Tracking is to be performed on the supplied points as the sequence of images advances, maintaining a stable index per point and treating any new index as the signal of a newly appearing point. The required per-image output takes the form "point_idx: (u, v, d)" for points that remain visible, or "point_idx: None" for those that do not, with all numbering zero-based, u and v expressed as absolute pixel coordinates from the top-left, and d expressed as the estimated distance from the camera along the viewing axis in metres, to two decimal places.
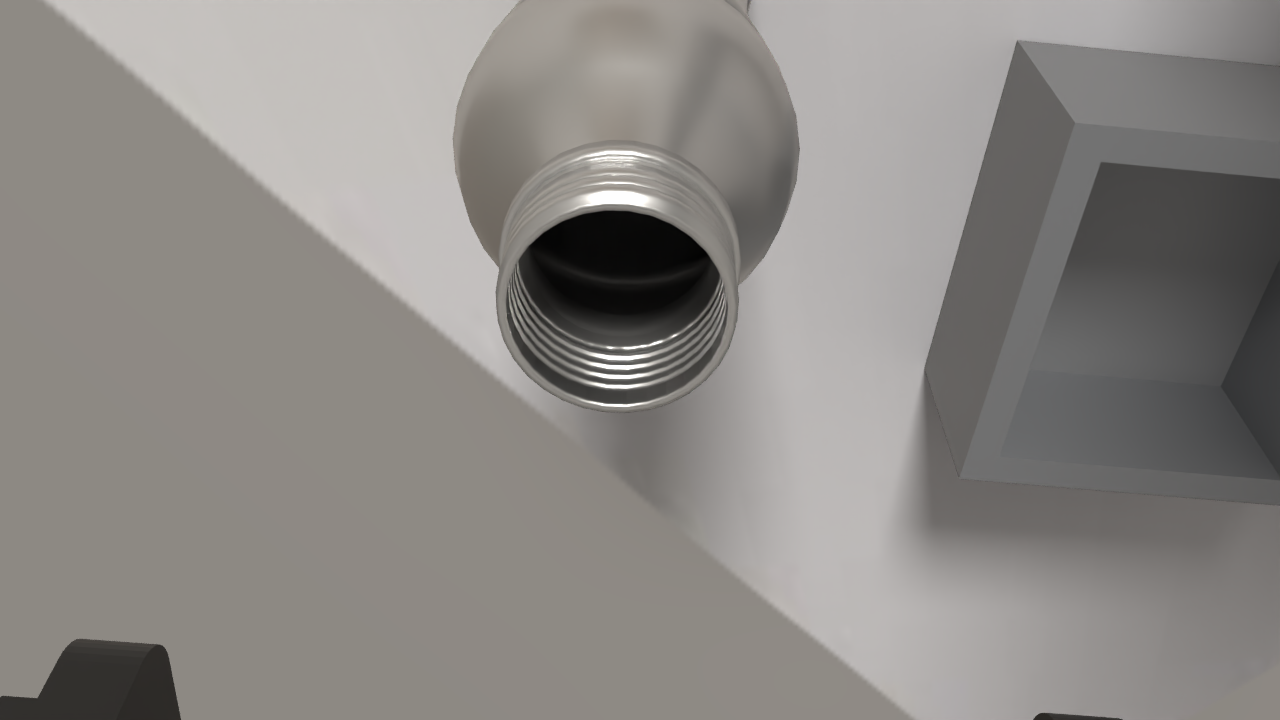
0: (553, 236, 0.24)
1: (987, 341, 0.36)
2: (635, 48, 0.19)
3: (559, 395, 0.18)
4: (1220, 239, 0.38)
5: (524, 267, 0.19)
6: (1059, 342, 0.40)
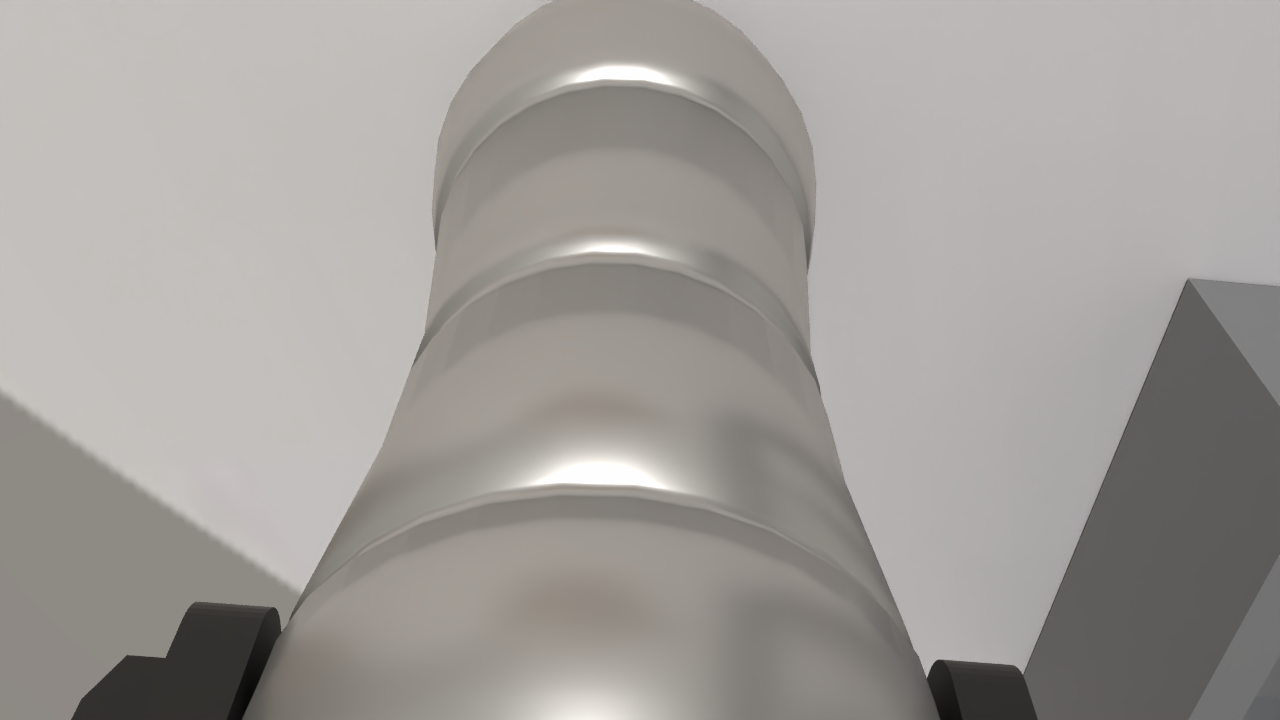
0: None
1: (1142, 717, 0.24)
2: None
3: None
4: None
5: None
6: None
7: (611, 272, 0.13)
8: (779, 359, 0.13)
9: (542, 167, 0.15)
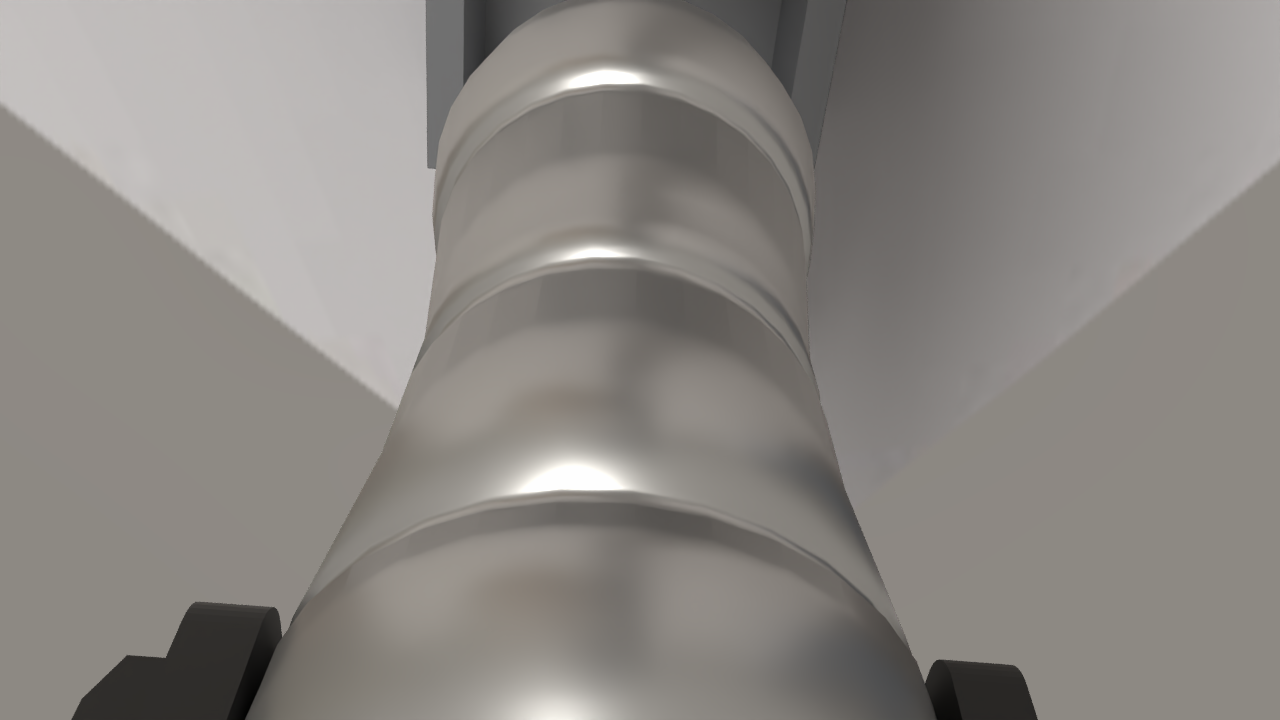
0: None
1: None
2: None
3: None
4: None
5: None
6: None
7: (611, 277, 0.13)
8: (778, 364, 0.13)
9: (542, 173, 0.15)
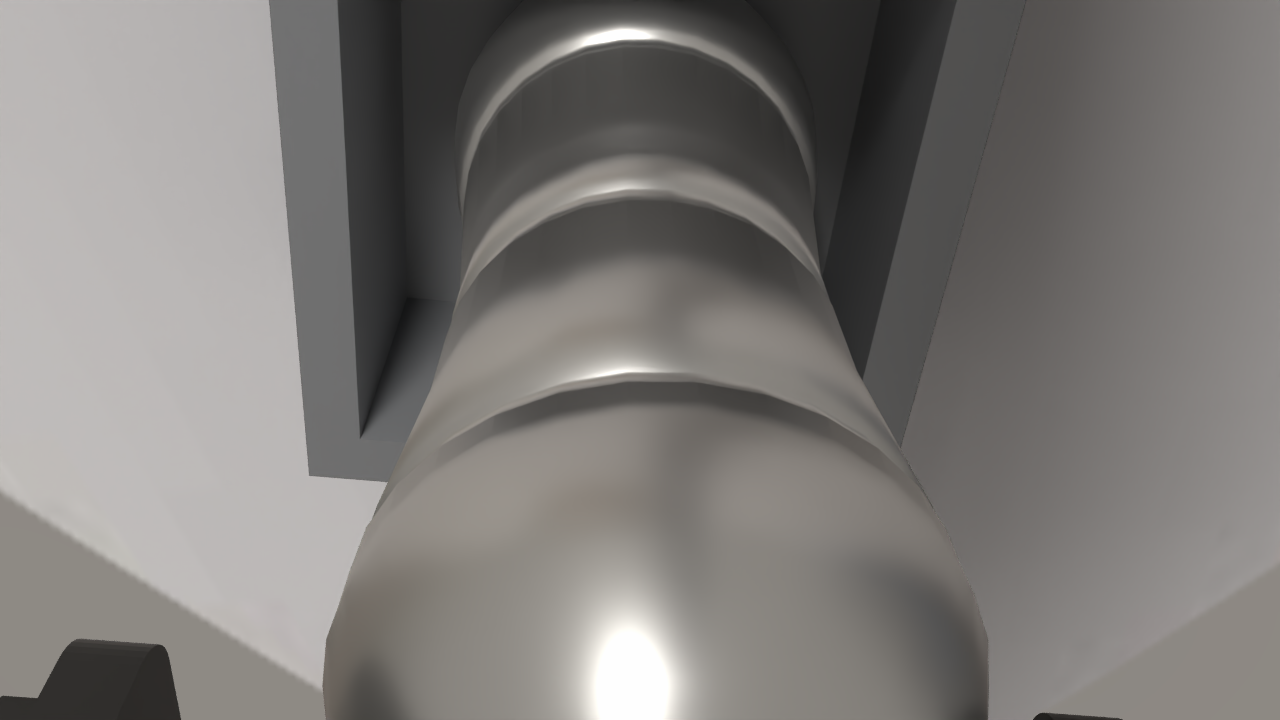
0: None
1: None
2: (692, 624, 0.09)
3: None
4: None
5: None
6: None
7: (647, 205, 0.14)
8: (803, 282, 0.14)
9: (570, 120, 0.16)
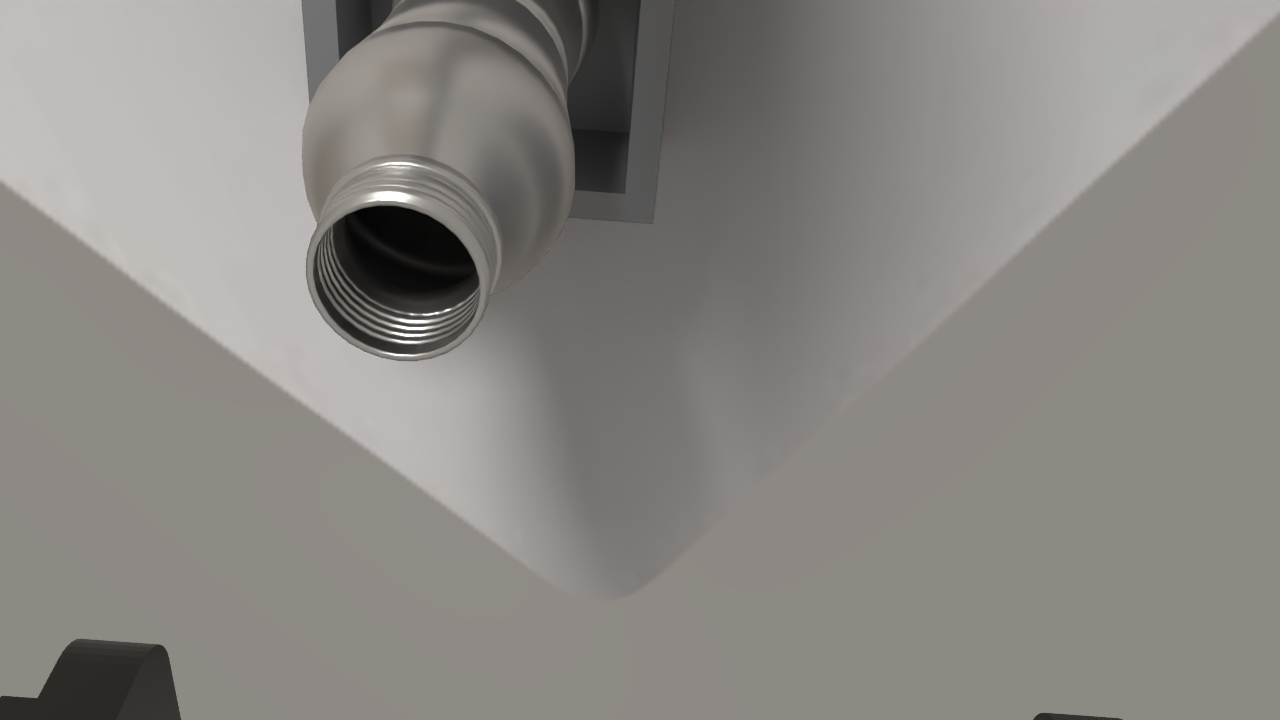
0: (398, 233, 0.30)
1: None
2: (425, 84, 0.25)
3: (362, 348, 0.24)
4: None
5: (339, 252, 0.25)
6: None
7: None
8: (530, 20, 0.30)
9: None
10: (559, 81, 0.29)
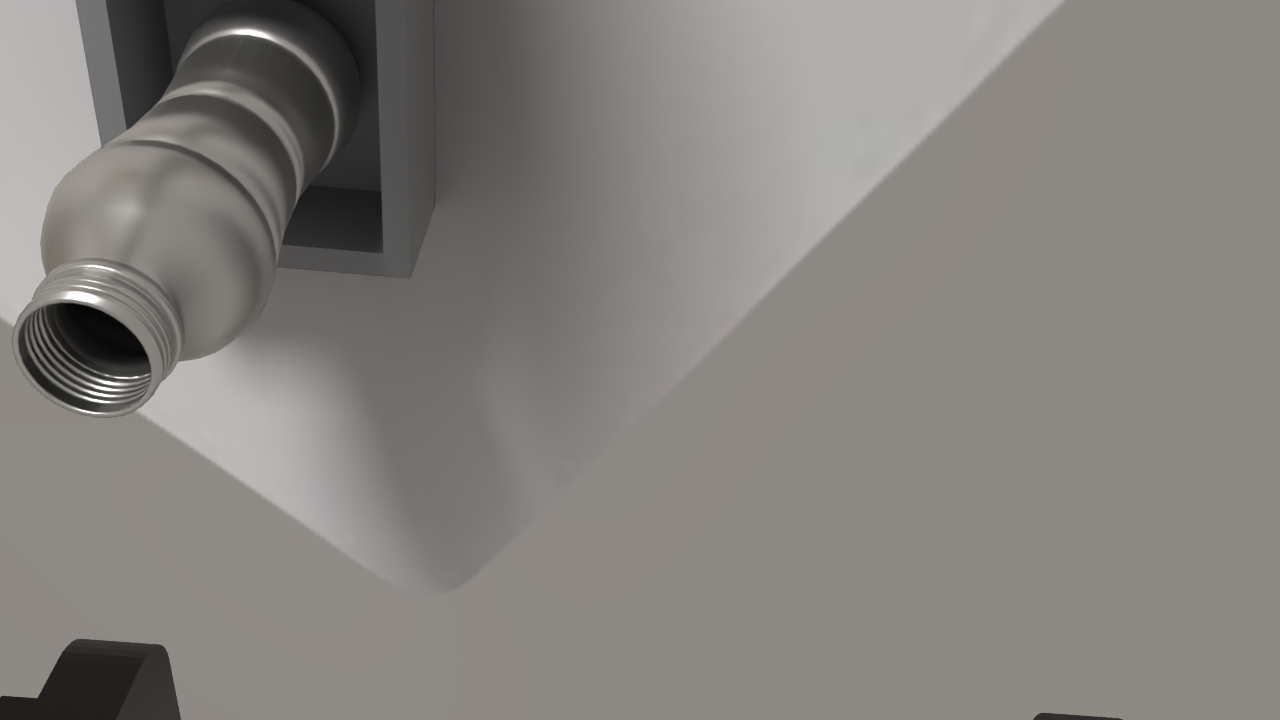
0: None
1: None
2: (126, 196, 0.32)
3: (67, 407, 0.31)
4: None
5: (54, 330, 0.31)
6: None
7: (195, 97, 0.37)
8: (253, 127, 0.37)
9: (193, 67, 0.39)
10: (272, 179, 0.36)
